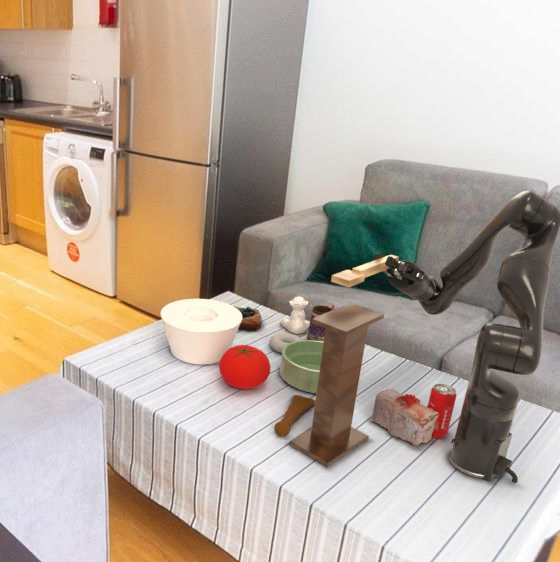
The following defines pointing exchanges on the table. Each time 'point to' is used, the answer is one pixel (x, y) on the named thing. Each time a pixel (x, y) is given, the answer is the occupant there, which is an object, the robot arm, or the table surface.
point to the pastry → (250, 319)
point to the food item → (404, 416)
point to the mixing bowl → (302, 364)
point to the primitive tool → (293, 414)
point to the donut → (282, 340)
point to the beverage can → (442, 407)
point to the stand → (337, 385)
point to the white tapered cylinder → (200, 329)
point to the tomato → (244, 367)
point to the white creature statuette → (297, 317)
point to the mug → (315, 330)
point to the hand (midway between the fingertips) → (382, 258)
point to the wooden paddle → (361, 272)
